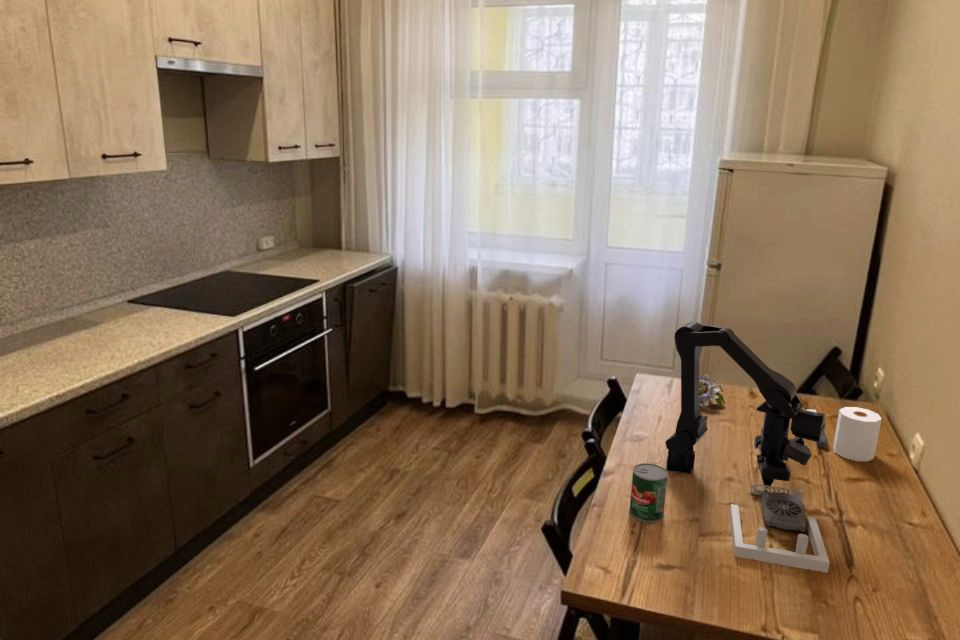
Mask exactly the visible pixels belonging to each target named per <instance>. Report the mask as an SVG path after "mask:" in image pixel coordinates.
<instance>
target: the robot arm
mask: <svg viewBox="0 0 960 640" xmlns="http://www.w3.org/2000/svg"><path fill="white" fill-rule="evenodd" d="M673 336H674V343H675V349H676V352H677V354H678V356H679V358H680V414H679V416H678V420H677V422H676V427H675V432H674V433H673V434H672V435H670V436H669V438H667V439H665V446H666V449H667V458H666V464H665V465H666V466H665V470H666V471H669V472H670V471H671V472H676V473H677V472H678V473H683V474H692V473H693V471H692V470H694V468H695V461H696V460H695V459H696V451H695V450H694V446H695V445H696V444H697V443H698V442H699V441H700V440H701V439H702V438H703V437H704V436H705V434H706V432H707V431H708V430H709V429H708V426H707V421H708V416H707V415H702V413H701V411H700V410H701V409H700V405H699V377H700V357H701V353H702V351H703V348H704V347H720V348H721V350H723V351H724V352H725V353H726V354H727V356H729V358H731V359H732V360H733V361H734V362H735V364H737V365H738V366H739V367H740V368H741V369H742V370H743V371H744V373H746V374H747V375H748V376H749V378H751V379H752V380H753V381H754V383H755V384H756V386H757V388H758V391H759V393H760V394H761V396H762V397H763V399H764V401H763V402H762V403H760V404H759V405H758V406H757V407H756V411H757V412H761V413H764V417H763V424H762V425H763V426H762V428H761V429H760V434H759V435H757V436H755V437H754V442H753V445H754V448H755V449H756V450H757V449H758V450H759V454H756V460H757V461H756V462H757V464H758V469H759V472H760V476H761V479H762V482H763V485H767V486H773V482H774V481H782V482H783V481H784V482H788V481H790V480H791V471H790V466H789V465H788V464H787V463H786V462H785V461H787V462H788V460H789V459H790V460H792V461H794V462H796V463H799V464H800V465H801V466H806V465H807V463H808V462H809V461H810V459H811V457H812V456H813V454H812V451H811V449H810V448H809V447H808V445H807V444H806V445H805V440H808V441H811V442H816V443H817V442H819V443H821V441H822V438H823V435H824V432H825V429H826V414H825V413H823V412H817V413H815V412H811V411H807V410H805V409H803V408H804V405H803V403H802V402H801V400H800V398H799V396H798V395H797V387H796V385H795V384H794V382H793V381H792V380H790V379H789V378H787V377H786V376H785V375H783V374H781V373H780V372H777V370H776V371H775V370H773V369H772V368H770V367H769V366H768V365H766V364H765V362H764V361H763V360H762V359H761V358H760V357H759V356H758V355H757V354H756V353H754V352H753V351H752V350H751V348H749V347H748V345H746V343H744V342H743V341H742V340H741V338H739V337H738V336H737V335H736V334H735V332H734V330H733V329H731V328H729V327H720V326H714V325H711V324H710V325H707V324H705V325H704V324H701V323H699V322H697V321H689V322H687V323H686V324H684V325H682V326H681V327H679V328H678V329H677V330H676V331H675V332H674V335H673ZM790 422H791V423H790ZM789 429H790V432H791V435H794V438H791V439H790V438H789ZM766 489H767V490H769V488H768V487H766Z"/></svg>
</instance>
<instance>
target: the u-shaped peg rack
mask: <svg viewBox="0 0 960 640" xmlns="http://www.w3.org/2000/svg"><path fill="white" fill-rule="evenodd" d="M739 509H740V507H739V505H738V504H732V503H731V504H730V509H729V519H730V521H729V522H730V531H731V538H732V549H733V557H734V556H735V558H740V557H741V558H742V559H746V558H748V559H747V560H751V559H754V560H753V561H757V560H758V562H762V563H763V562H764V563H770V564H773V565H774V564H775V565H781V566H787V567H793V568H797V569H802V568H803V569H804V570H808V569H810V571H814V570H815V572H819V571H821V573H826V574H827V573H829V567H830V564H831V563H830V560H829V559H830V558H829V556H828V553H827V550H826V547H825V545H824V544H825V543H824V540H823V538H822V535H821V531H820V528H819V525H818V522H817V519H816V518H817V517H815V516H809V515H808V516H807V517H806V530H807V534H808V535H807V534H804V533H798V535H797V541H796V546H795V551H790V550H785V549H780V548H773V547H767V546H766V542H767V537H768V529H767V528H765V527H762V526H759V527H757V529H756V537H755V544H748V543H744V540H743V533H742V524H741V517H740V510H739ZM809 541H810V544H811V548H812V551H813V554H808V553H807V549H808V543H809Z"/></svg>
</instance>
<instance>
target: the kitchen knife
mask: <svg viewBox="0 0 960 640" xmlns="http://www.w3.org/2000/svg"><path fill="white" fill-rule="evenodd" d="M806 409H807V408H806ZM807 411H811V412H815V413H818V412H817V410H816V409H812V408H811V409H810V408H808V409H807ZM816 446H817V448H819V449H826V448H827V447H828V439H827V435H826V432H825V431H824V435H823V438H822V441H821V443H819V442H816Z"/></svg>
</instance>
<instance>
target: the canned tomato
mask: <svg viewBox="0 0 960 640" xmlns="http://www.w3.org/2000/svg"><path fill="white" fill-rule="evenodd" d="M668 474H669V473H668V470H666V468H664V467H663V466H661V465H658V464H654V463H650V462H649V463H647V462H645V463H643V462H642V463H638V464H636V465H634V466H633V468H632V478H631V489H630V500H629V501H630V503H629V509H628V510H629V513H630V515H631V516H632V517H633V518H634V519H636V520H637V521H640V522H643V523H644V522H645V523H657V521H658V522H660V521H662V520H663V519H664V517H665V515H664V513H665V506H666V505H665V504H666V494H667V484H668Z"/></svg>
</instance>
